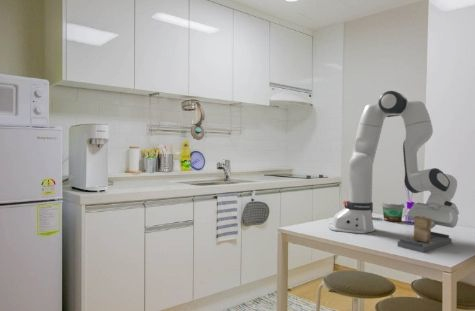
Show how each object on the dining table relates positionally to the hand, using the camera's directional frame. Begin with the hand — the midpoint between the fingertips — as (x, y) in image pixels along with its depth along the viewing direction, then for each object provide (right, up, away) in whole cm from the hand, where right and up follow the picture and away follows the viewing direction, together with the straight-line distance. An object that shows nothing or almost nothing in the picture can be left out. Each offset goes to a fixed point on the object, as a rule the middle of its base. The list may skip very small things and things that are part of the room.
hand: (425, 230), depth 163 cm
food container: (+5, -5, +45) cm, 45 cm away
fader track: (0, -6, 0) cm, 6 cm away
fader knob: (-2, -4, -1) cm, 5 cm away
